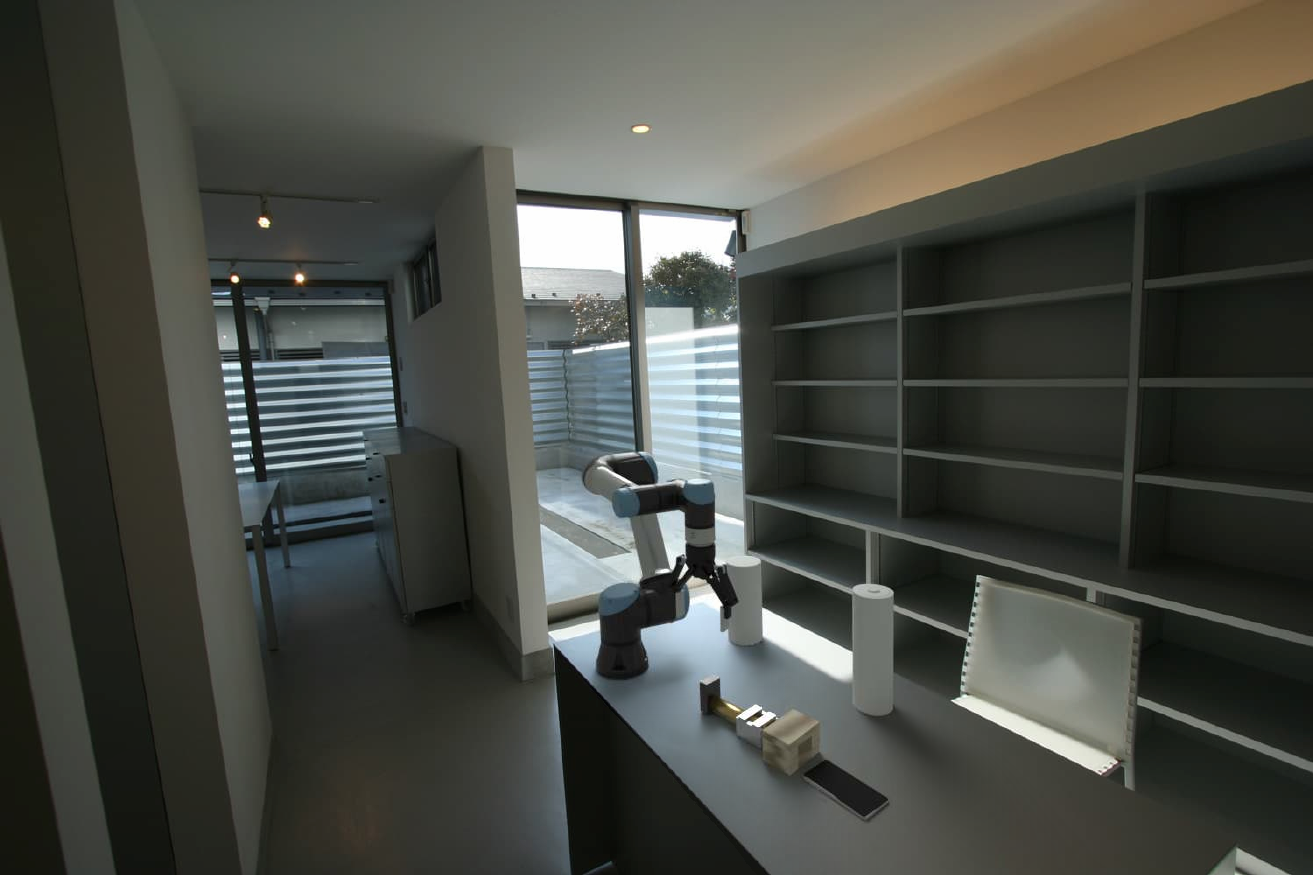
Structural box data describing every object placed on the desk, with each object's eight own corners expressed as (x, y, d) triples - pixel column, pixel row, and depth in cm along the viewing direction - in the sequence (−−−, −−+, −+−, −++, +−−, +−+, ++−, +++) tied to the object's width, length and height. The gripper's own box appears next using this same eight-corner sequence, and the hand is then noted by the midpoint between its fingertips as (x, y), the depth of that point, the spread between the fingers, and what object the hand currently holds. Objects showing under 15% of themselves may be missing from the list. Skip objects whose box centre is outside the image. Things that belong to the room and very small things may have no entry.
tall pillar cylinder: (754, 648, 179) (752, 568, 176) (722, 641, 185) (720, 563, 181) (768, 634, 188) (766, 558, 184) (737, 627, 193) (735, 553, 190)
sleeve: (736, 735, 138) (736, 715, 137) (754, 724, 142) (754, 703, 141) (760, 749, 132) (760, 728, 132) (778, 737, 137) (777, 715, 136)
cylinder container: (896, 717, 142) (897, 597, 138) (855, 714, 144) (854, 595, 140) (889, 695, 151) (889, 582, 148) (850, 692, 153) (850, 581, 150)
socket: (763, 759, 129) (762, 729, 128) (793, 737, 136) (793, 708, 135) (789, 775, 124) (789, 744, 123) (819, 751, 131) (819, 721, 130)
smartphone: (864, 818, 111) (801, 774, 123) (864, 824, 111) (801, 779, 123) (889, 798, 116) (826, 758, 128) (889, 803, 116) (826, 763, 128)
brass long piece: (700, 710, 148) (699, 681, 147) (713, 702, 151) (712, 674, 150) (757, 743, 134) (756, 711, 133) (770, 734, 137) (770, 702, 136)
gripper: (651, 536, 152) (654, 614, 155) (735, 556, 136) (736, 642, 139) (669, 529, 158) (672, 604, 161) (752, 547, 142) (752, 630, 145)
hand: (701, 622), depth 150 cm, fingers open, 13 cm apart
